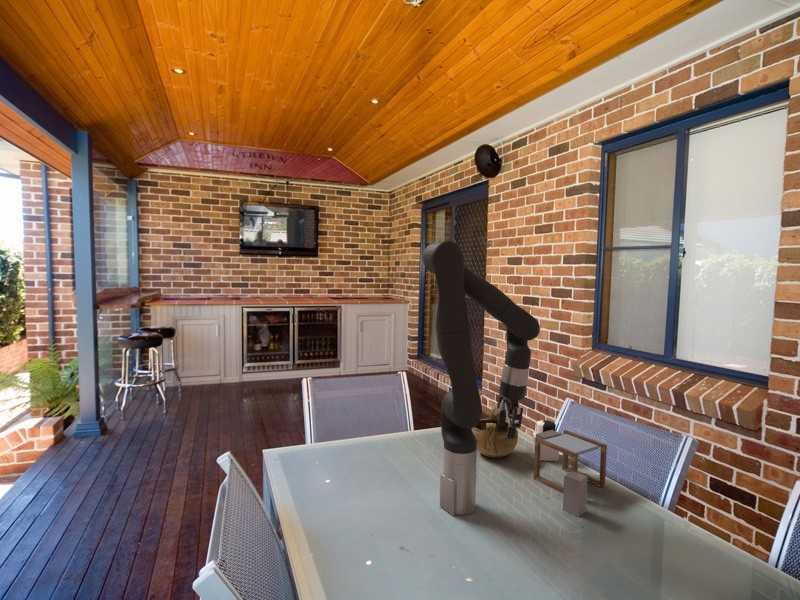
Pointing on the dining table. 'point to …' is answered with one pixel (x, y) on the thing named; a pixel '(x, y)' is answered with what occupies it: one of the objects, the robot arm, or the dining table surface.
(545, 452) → the container
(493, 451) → the ceramic bowl
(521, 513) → the dining table surface
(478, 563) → the dining table surface
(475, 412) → the robot arm
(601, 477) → the frame
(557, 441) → the trapdoor
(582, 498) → the stone
